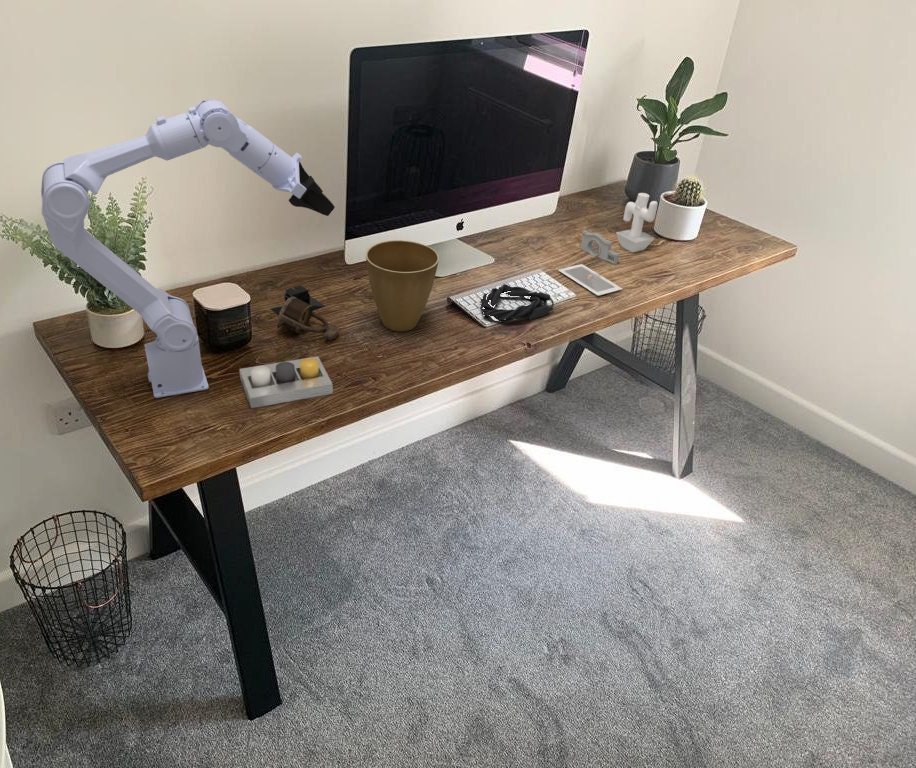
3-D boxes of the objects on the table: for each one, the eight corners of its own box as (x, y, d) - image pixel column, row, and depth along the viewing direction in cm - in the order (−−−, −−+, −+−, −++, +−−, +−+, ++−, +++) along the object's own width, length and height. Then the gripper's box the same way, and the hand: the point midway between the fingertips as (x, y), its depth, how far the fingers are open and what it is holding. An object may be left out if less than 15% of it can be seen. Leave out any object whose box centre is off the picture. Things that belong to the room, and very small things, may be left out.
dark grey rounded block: (278, 386, 148) (277, 373, 146) (274, 377, 150) (273, 363, 148) (297, 383, 149) (296, 370, 147) (292, 374, 151) (291, 360, 150)
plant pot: (353, 330, 169) (352, 261, 160) (384, 301, 180) (385, 234, 171) (418, 347, 165) (421, 277, 156) (445, 316, 176) (450, 249, 167)
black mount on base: (313, 295, 182) (313, 275, 179) (333, 308, 177) (333, 288, 174) (262, 311, 174) (260, 291, 171) (281, 326, 169) (280, 305, 167)
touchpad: (597, 299, 189) (598, 291, 188) (557, 273, 199) (558, 265, 198) (621, 292, 193) (623, 284, 191) (581, 267, 203) (582, 260, 202)
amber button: (303, 382, 149) (302, 369, 148) (298, 373, 152) (297, 359, 150) (320, 379, 150) (320, 366, 149) (316, 370, 153) (315, 356, 151)
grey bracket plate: (618, 264, 205) (622, 242, 202) (614, 266, 204) (618, 244, 201) (582, 247, 212) (586, 226, 209) (578, 249, 211) (581, 228, 208)
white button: (254, 391, 146) (252, 377, 144) (250, 381, 148) (249, 367, 147) (272, 387, 147) (271, 374, 145) (268, 378, 150) (267, 364, 148)
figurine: (630, 239, 219) (640, 185, 211) (655, 252, 213) (667, 198, 204) (610, 243, 215) (620, 189, 207) (635, 257, 209) (646, 202, 201)
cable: (501, 333, 172) (503, 316, 170) (461, 306, 181) (462, 289, 179) (559, 313, 182) (562, 296, 179) (518, 288, 190) (520, 272, 188)
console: (251, 408, 144) (250, 398, 142) (240, 378, 151) (239, 368, 150) (332, 393, 149) (332, 383, 148) (318, 365, 157) (318, 356, 155)
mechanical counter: (305, 290, 171) (267, 295, 163) (347, 305, 164) (310, 312, 156) (303, 322, 174) (266, 329, 166) (344, 339, 167) (308, 347, 159)
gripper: (287, 151, 126) (351, 200, 135) (267, 124, 137) (327, 171, 146) (260, 186, 128) (325, 232, 136) (242, 157, 138) (303, 201, 147)
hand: (324, 202), depth 141 cm, fingers open, 7 cm apart
